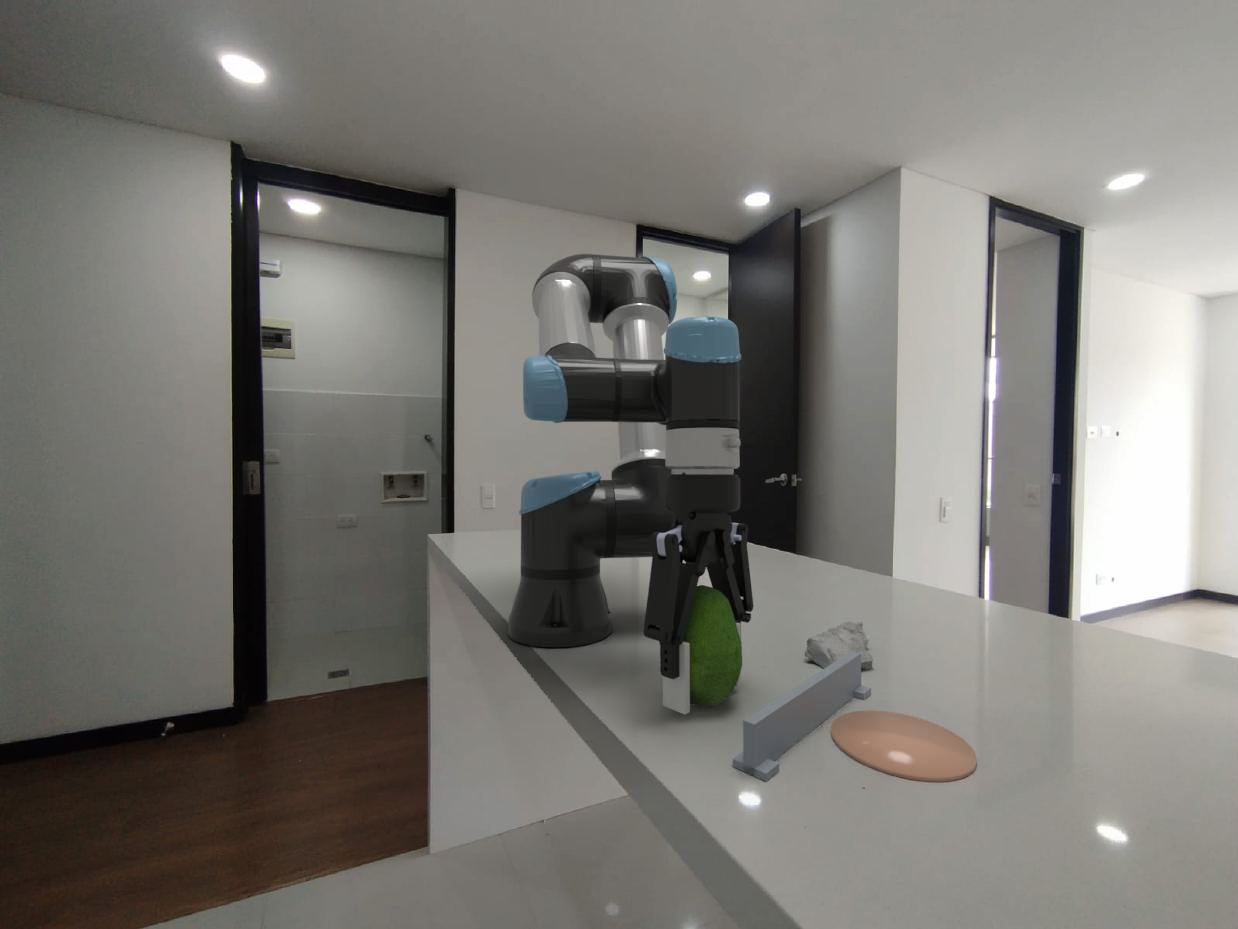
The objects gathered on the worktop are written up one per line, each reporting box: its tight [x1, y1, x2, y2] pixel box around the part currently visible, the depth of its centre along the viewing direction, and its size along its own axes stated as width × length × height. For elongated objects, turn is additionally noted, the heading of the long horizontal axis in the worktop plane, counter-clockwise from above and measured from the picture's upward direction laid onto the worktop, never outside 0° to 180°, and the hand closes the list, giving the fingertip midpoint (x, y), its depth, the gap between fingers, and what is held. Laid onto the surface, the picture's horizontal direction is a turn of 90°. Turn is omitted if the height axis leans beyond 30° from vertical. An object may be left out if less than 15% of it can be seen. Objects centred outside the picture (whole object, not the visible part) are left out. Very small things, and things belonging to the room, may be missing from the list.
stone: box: [804, 621, 874, 670], centre depth 66 cm, size 6×12×4 cm, turn 124°
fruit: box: [673, 584, 743, 708], centre depth 54 cm, size 8×8×12 cm
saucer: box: [830, 710, 977, 783], centre depth 46 cm, size 11×11×1 cm
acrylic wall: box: [731, 651, 872, 782], centre depth 50 cm, size 3×22×4 cm, turn 136°
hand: (703, 694), depth 54 cm, fingers open, 8 cm apart
